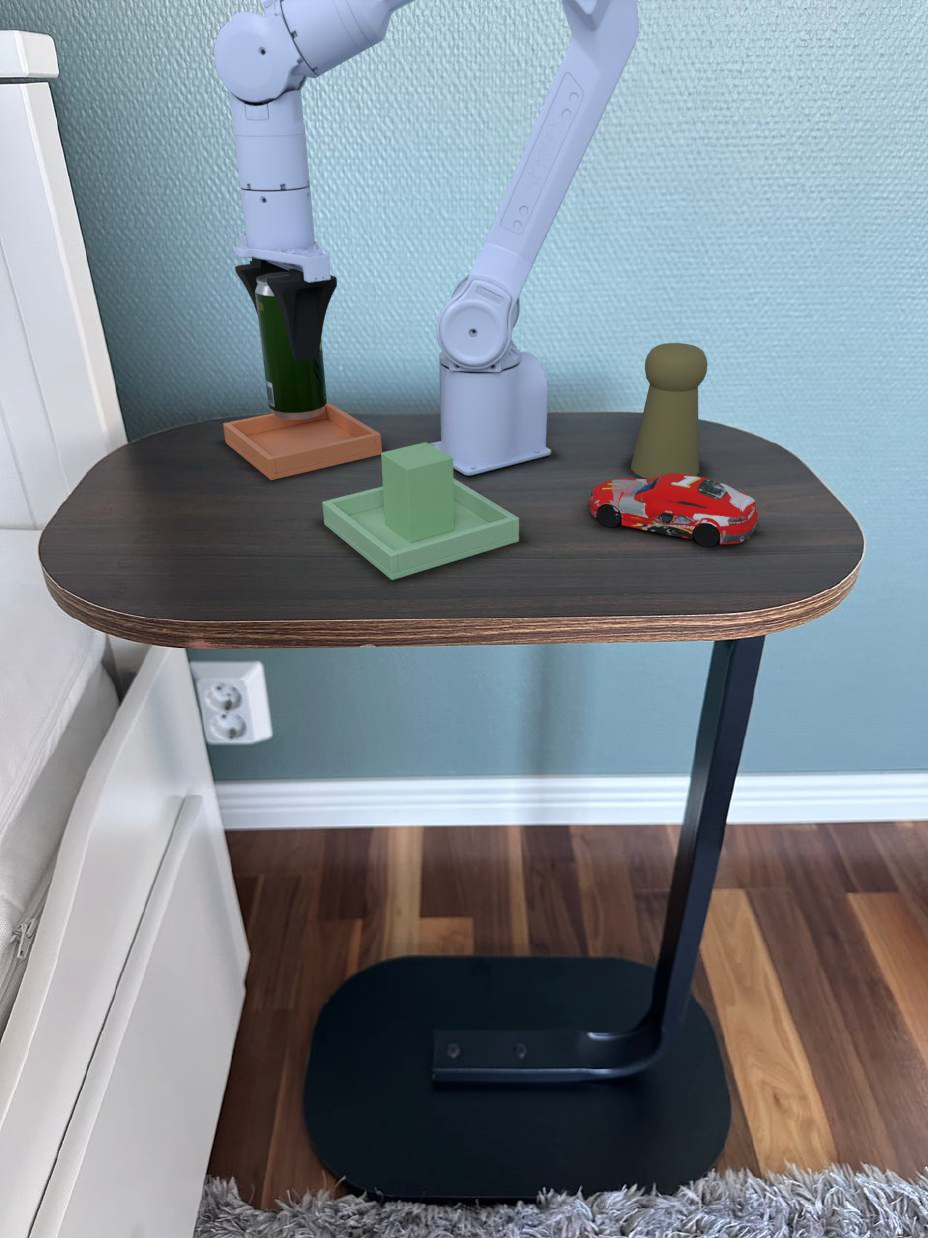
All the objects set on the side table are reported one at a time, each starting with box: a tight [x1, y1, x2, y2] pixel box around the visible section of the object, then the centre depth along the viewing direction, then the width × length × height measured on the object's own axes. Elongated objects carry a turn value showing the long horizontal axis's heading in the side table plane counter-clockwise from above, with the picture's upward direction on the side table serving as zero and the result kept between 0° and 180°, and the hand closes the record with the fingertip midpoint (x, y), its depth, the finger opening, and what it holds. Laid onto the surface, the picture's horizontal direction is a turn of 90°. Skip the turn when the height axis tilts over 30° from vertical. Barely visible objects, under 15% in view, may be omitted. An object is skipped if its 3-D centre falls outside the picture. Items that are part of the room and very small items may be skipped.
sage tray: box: [321, 477, 520, 581], centre depth 74 cm, size 11×11×2 cm
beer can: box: [255, 272, 328, 420], centre depth 85 cm, size 5×5×12 cm
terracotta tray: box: [222, 401, 383, 481], centre depth 90 cm, size 11×11×2 cm
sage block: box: [380, 441, 455, 543], centre depth 72 cm, size 4×4×6 cm
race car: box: [588, 473, 759, 548], centre depth 74 cm, size 13×5×4 cm, turn 61°
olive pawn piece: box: [630, 342, 708, 479], centre depth 82 cm, size 6×6×11 cm
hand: (292, 351), depth 85 cm, fingers closed on beer can, 5 cm apart
